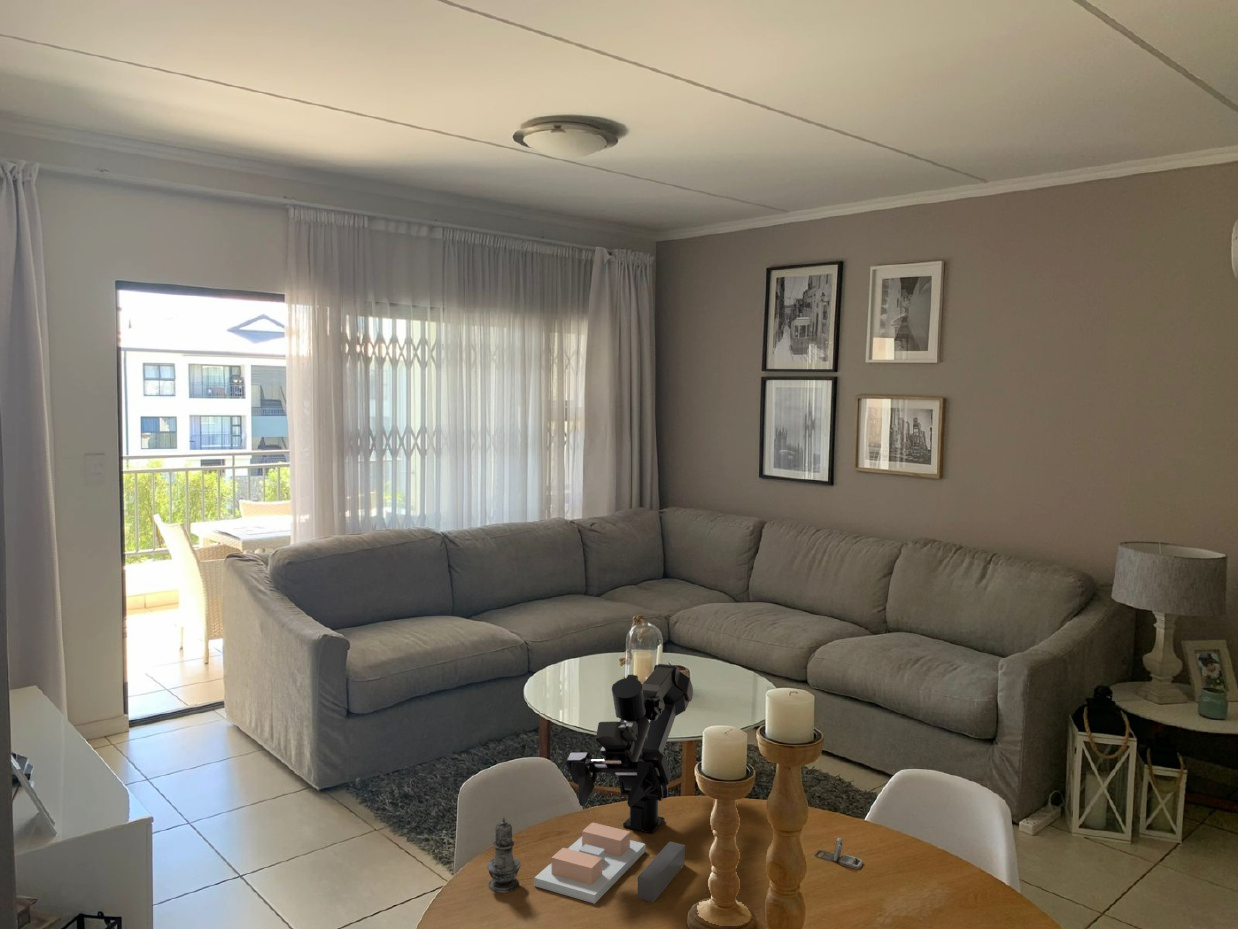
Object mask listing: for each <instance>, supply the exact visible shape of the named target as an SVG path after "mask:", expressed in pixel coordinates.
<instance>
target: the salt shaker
mask: <svg viewBox="0 0 1238 929" xmlns="http://www.w3.org/2000/svg"><path fill="white" fill-rule="evenodd" d="M492 844H493V845H492V846H493V847H494V858H492V859H491V860H489V861H488V862H487V864H486V869H487V871H488V874H489V876H490V878H491V880H489V882H488V889H490V890H491V891H493V892H494V893H501V894H502V893H510V892H513V891H515V890H516V889H518V887H519V886H520V881H519V880H518V879H517V878H516V877H517V875H518V873H519V870H520V869H521V866H522V865H521V861H520V859H518V858H516V857H514V855H513V847H514V845H515V841H514V840H513V826H512V824H511V823H510V822H507V820H506V819H505V818H504V817H503V818H502V819H501V821H500V822H499V823H497V824H496V826H495V841H494V842H493V843H492Z"/></svg>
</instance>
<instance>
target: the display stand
mask: <svg viewBox="0 0 1238 929" xmlns="http://www.w3.org/2000/svg"><path fill="white" fill-rule="evenodd" d="M644 853H646V843H643V842H639V841H635V840H631V831H629V830H624V829H622V828H621V829H620V828H617V827H613V826H608V825H606V824H601V823H596V822H591V823H590V824H589V825H588V826H587V827H585V828H584V829H583V830H582V831H581V836H580V837H579V838H578V839H577V840H576V841H575V842H574V843H572V844H571V845H570V846H569V847H568V848H566V847H561V849H560V850H558V851H557V852H556V853H555V854H554V855H553V856H551V863H550V864H548V865H547V866H546V867H545V868H544V869H542V870H541V871H540V872H539V873H538V874H537V875H536V876H534V878H533V881H534V882H533V885H534V887H536V888H539V889H540V888H541V889H543V890H547V891H550V892H553V893H556V894H561V895H563V896H564V895H565V896H568V897H571V898H575V899H578V900H581V901H585V902H587V903H591V904H594V905H595V904H596V903H597V902H598V901H599V900H600V899H601V898H602V897H603V896H604V895H605V894H606V893H607V892H608V891H609V890H610V888H612V886H613V885H615V883H617V881H618V880H619V879H620V878H622V877H623V875H625V873H626V872H627V871H628V870H629V869H630V868H631V867H632V866H633V865H634V864H635V863H636V862H637V860H639V859H640V857H642V856H643V854H644Z"/></svg>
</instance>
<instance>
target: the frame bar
mask: <svg viewBox="0 0 1238 929" xmlns="http://www.w3.org/2000/svg"><path fill="white" fill-rule="evenodd" d="M685 852H686V845H685V844H682V843H677V842H673V841H669V842H668V843H666V845H665V846H664V847H663V848H662V849H661V850H660V852H658V854H657V855H656V856H655V857H654V858H653V859H652V860H651V861H650V862H649V863H648V865H647V866H646V867H645V868H644V869H643V870H642V871H641V873H639V874H638V876H637V899H640V900H643V901H647V902H651V903H655V901H656V900H657V899H658V898H659V896H660V895H661V894H662V893H663V891H664V890H665V889H666V888H667V886H669V884H670V883H671V882H672V881H671V880H673V879H674V878H675V877H676V876H677V875H678V873H679V872H680V871H681V870H682V868H683V867H684V866H685V865H686V864H685V862H686V861H685V856H686V854H685ZM684 864H685V865H684ZM683 865H684V866H683ZM682 866H683V867H682ZM681 867H682V868H681ZM680 869H681V870H680ZM679 870H680V871H679ZM678 871H679V872H678ZM677 872H678V873H677ZM676 874H677V875H676ZM675 875H676V876H675ZM673 877H674V878H673Z"/></svg>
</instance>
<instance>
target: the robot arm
mask: <svg viewBox="0 0 1238 929" xmlns="http://www.w3.org/2000/svg"><path fill="white" fill-rule="evenodd" d="M611 693H612V694H611V695H612V699H613V704H614V711H615V716H616V719H617V718H618V719H619V721H599V722H598V724H597V729H596V735H595V741H596V742H598V743H599V745H600V746H601V749H600V753H601V754H600V755H601V756H604V757H605V758H603V759H593V757H592V753H591V752H570V753H569V754H568V756H567V759H566V761H565V764H566V767H567V769H568V771H569V774H570V776H571V779H572V781H573V783H574V784H576V785H577V786H578V804H579V806H580V807H583V806H584V805H585V803H587V800H588V799H589V797H590V796H591V794H592V792H593V790H594V789H595V782H596V781H597V779H598V773H601V774H604V773H607V774H609V773H610V774H611V775H612V776H618V782H619V783H618V784H619V790H620V796H627V797H628V799H627V801H626V802H627V803H626V804H627V806H628V807H629V817H628V818H627V819H626V820H625V821H624V822H623V823H622V827H624V828H628V829H631V830H632V829H633V830H638V831H641V832H644V833H649V834H652V833H654V832H655V830H657V829H658V828H659V827H660V826H661V825H662V824H663V823H664V822H665V817H663V816H659V802H662V801H663V800H664V799H667V798H668V797H669V784H670V781H671V777H672V771H671V768H670V765H669V762H668V760H667V757H666V755H665V753H664V750H665V748H666V744H667V741H668V738H669V736H670V733H671V730H672V728H673V725H674V721H675V719H676V717H677V716H679V715H680V714H683V713H684V712H685V711H686V710H687V708H688V707H689V704H690V702H692V700H693V695H694V687H693V684H692V681H691V678H690V677H688V676H687V675H686V674H684V673H683V672H682V671H680V668H679V666H676V665H674V664H665V663H658V664H655V665H654V668H653V671H652V672H651V673H650V674H649V675H648V677H647V678H646V679H645V680H644V682H641V681H640V680H639V677H638V675H636V674H627V676H626V677H625V678H621V679H618V680H617V681H615V683H613V684H612V685H611Z"/></svg>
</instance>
